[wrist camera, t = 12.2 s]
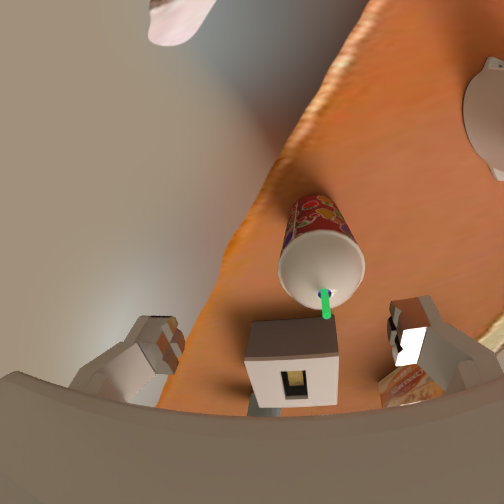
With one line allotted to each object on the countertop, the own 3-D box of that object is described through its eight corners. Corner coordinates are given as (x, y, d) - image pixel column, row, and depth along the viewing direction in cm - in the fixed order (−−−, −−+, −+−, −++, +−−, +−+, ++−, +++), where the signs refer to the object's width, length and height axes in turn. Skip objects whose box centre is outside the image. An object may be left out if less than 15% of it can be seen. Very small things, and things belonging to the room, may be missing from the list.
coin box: (334, 315, 47) (338, 356, 39) (334, 367, 53) (336, 404, 45) (252, 321, 50) (243, 361, 42) (264, 370, 56) (259, 407, 48)
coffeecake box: (427, 341, 47) (454, 424, 31) (445, 351, 48) (471, 428, 32) (376, 382, 55) (386, 461, 38) (396, 389, 56) (408, 463, 39)
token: (302, 338, 49) (301, 364, 44) (304, 359, 52) (303, 385, 47) (287, 339, 50) (285, 365, 44) (291, 360, 52) (289, 385, 47)
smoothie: (271, 219, 40) (251, 320, 23) (309, 173, 36) (323, 248, 19) (317, 253, 42) (327, 364, 24) (357, 211, 38) (400, 307, 20)
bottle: (283, 387, 58) (277, 447, 45) (281, 403, 62) (275, 459, 49) (251, 384, 59) (240, 444, 46) (251, 400, 63) (241, 455, 50)
